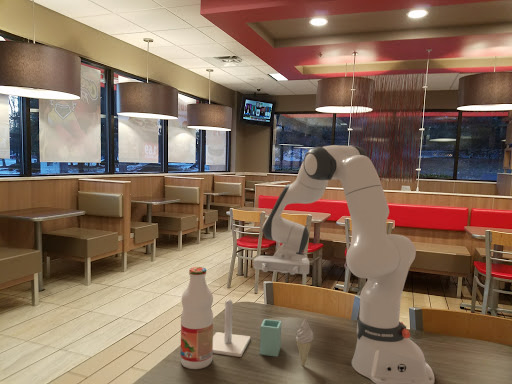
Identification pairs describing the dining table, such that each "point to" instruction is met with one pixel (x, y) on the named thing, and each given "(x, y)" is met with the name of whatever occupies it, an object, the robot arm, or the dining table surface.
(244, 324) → the dining table surface
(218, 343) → the post stand
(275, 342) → the sleeve
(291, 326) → the dining table surface
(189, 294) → the fruit juice
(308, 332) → the ice cream cone
